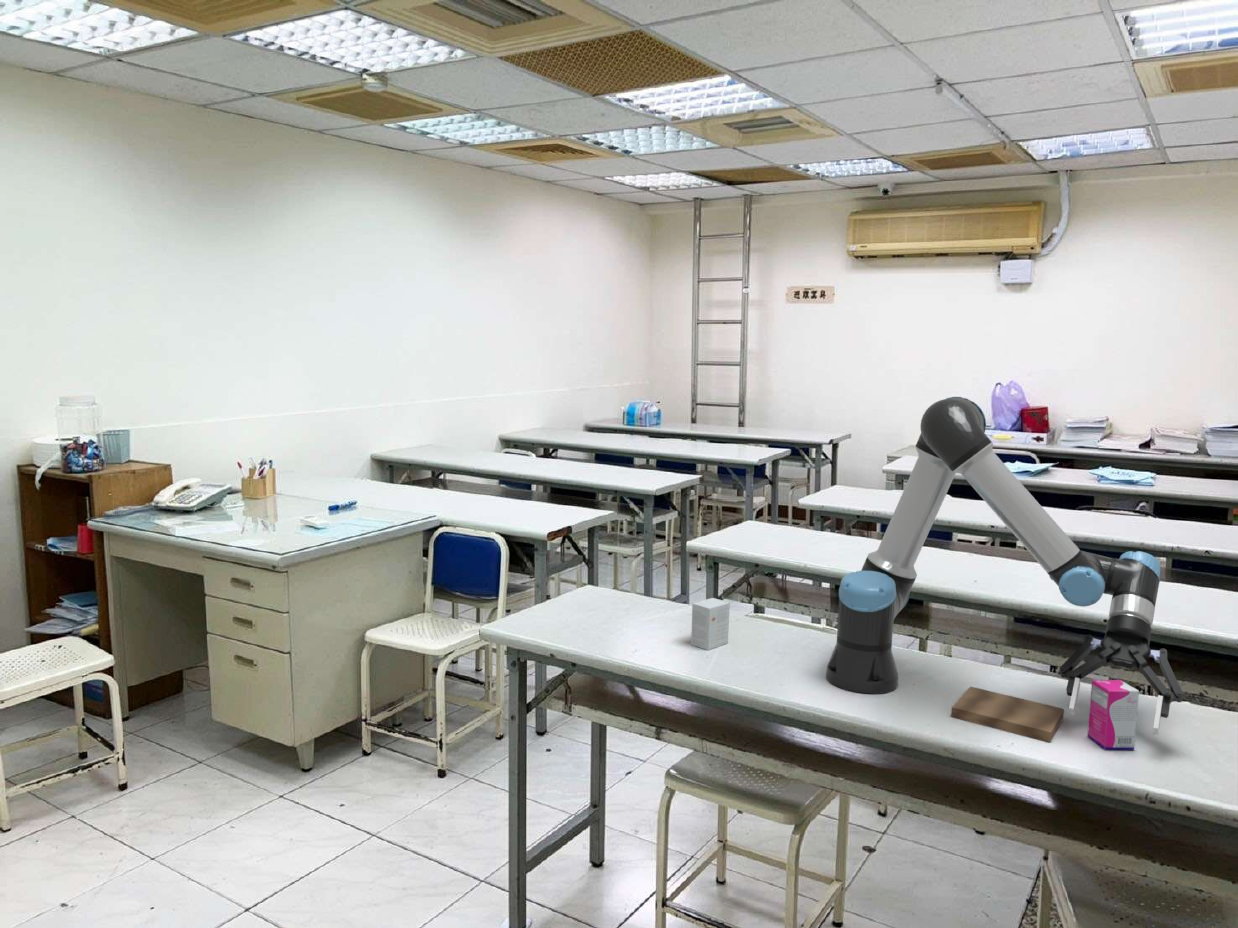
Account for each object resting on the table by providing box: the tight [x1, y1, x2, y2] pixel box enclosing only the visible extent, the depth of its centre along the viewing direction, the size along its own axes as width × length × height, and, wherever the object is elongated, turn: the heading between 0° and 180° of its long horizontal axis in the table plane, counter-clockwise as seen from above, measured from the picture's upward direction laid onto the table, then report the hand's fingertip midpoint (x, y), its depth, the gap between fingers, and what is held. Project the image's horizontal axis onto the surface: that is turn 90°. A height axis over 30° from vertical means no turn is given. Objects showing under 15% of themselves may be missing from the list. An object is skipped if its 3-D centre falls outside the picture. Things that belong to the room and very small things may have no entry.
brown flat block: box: [950, 686, 1065, 743], centre depth 171 cm, size 18×14×2 cm
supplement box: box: [1087, 679, 1140, 751], centre depth 160 cm, size 6×6×12 cm
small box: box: [690, 597, 731, 651], centre depth 210 cm, size 8×6×10 cm
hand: (1112, 721), depth 159 cm, fingers open, 13 cm apart
